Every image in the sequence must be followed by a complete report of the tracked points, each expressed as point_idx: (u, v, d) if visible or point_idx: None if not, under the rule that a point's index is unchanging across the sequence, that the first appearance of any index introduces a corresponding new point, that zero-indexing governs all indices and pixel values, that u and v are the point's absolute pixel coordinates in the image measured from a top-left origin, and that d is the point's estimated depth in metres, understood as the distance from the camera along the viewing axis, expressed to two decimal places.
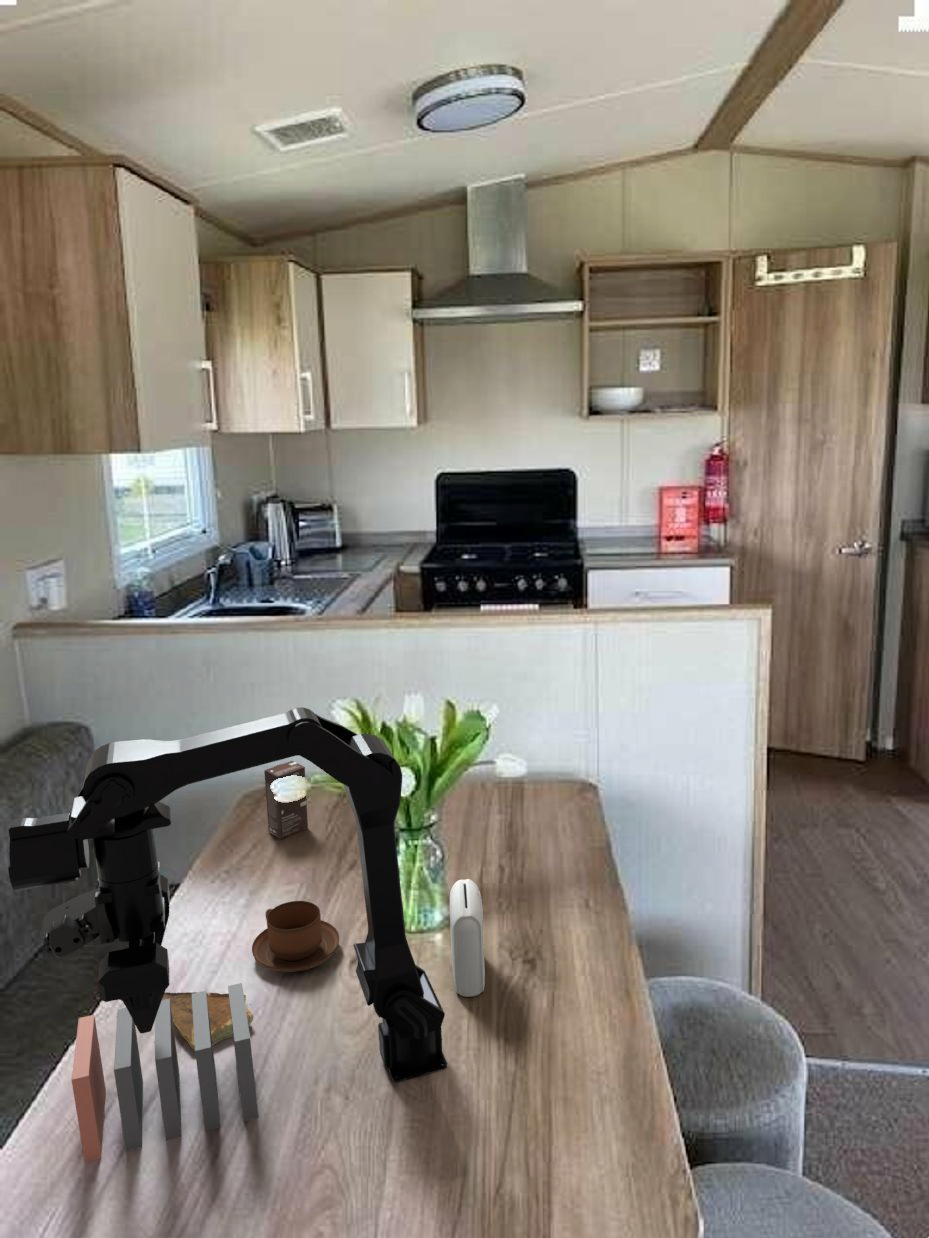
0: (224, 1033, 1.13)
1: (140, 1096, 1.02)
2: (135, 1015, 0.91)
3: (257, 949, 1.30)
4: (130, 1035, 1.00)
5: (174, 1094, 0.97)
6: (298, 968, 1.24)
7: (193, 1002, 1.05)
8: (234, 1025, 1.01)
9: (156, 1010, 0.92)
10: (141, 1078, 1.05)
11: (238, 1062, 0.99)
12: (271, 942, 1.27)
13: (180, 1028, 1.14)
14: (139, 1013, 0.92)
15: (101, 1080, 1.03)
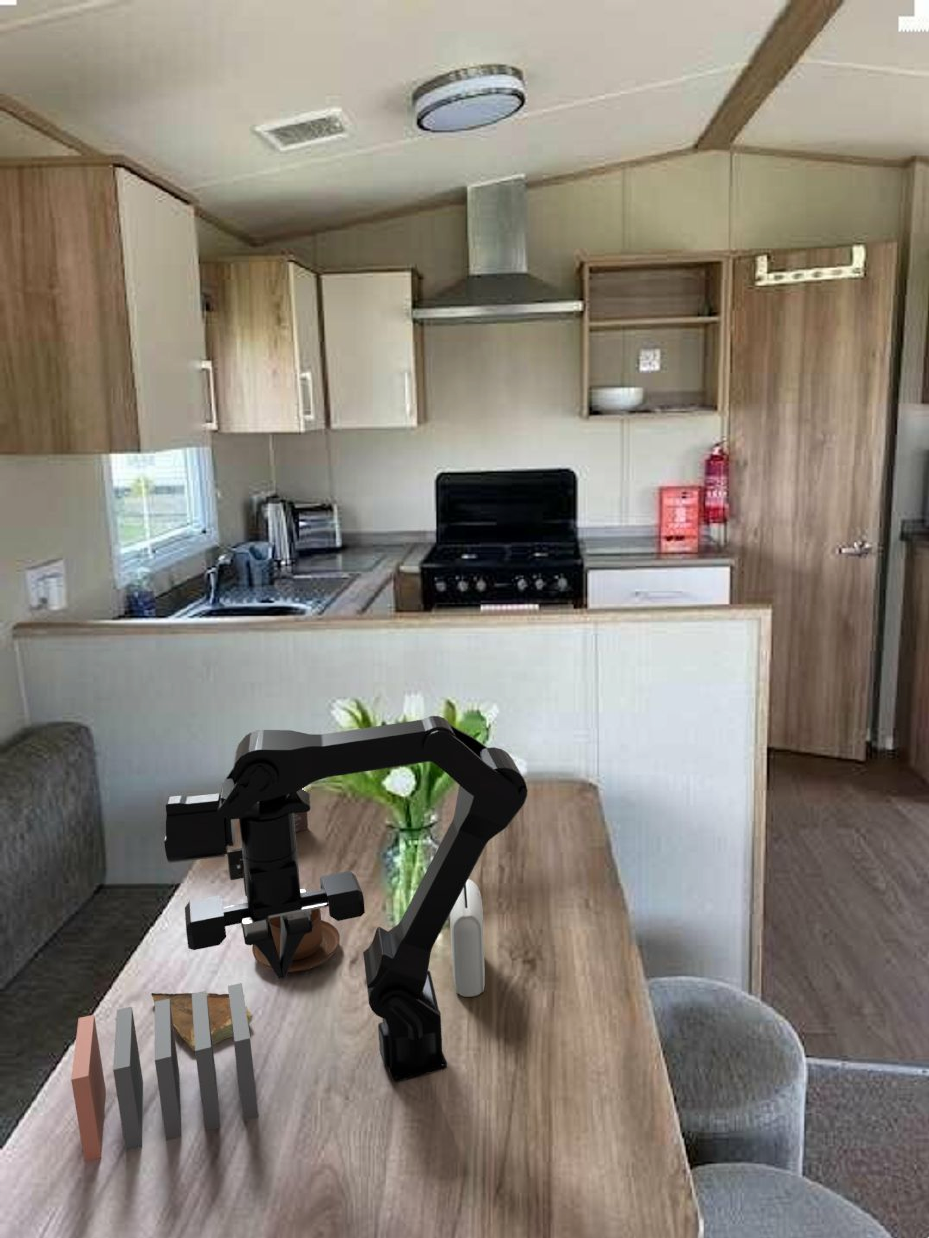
0: (223, 1033, 1.13)
1: (140, 1096, 1.02)
2: None
3: None
4: (129, 1035, 1.00)
5: (174, 1094, 0.97)
6: (298, 968, 1.24)
7: (193, 1002, 1.05)
8: (234, 1025, 1.01)
9: (269, 963, 1.02)
10: (141, 1078, 1.05)
11: (238, 1062, 0.99)
12: None
13: (179, 1029, 1.14)
14: None
15: (101, 1080, 1.03)
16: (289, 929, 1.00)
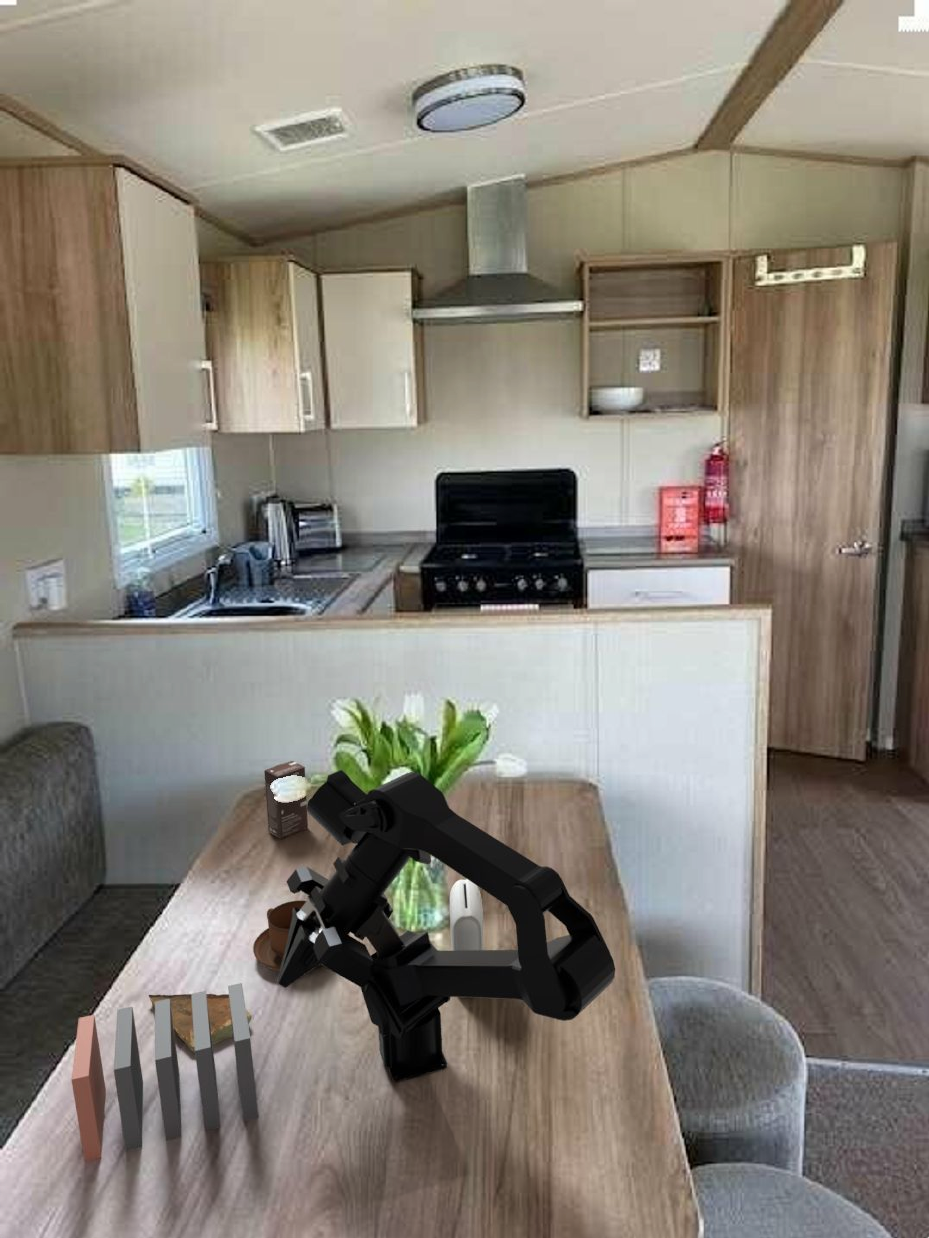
0: (223, 1034, 1.13)
1: (140, 1096, 1.02)
2: None
3: (259, 948, 1.30)
4: (130, 1035, 1.00)
5: (174, 1094, 0.97)
6: None
7: (193, 1002, 1.05)
8: (234, 1025, 1.01)
9: None
10: (141, 1078, 1.05)
11: (238, 1062, 0.99)
12: (272, 942, 1.27)
13: (178, 1030, 1.13)
14: None
15: (101, 1080, 1.03)
16: (306, 929, 1.02)
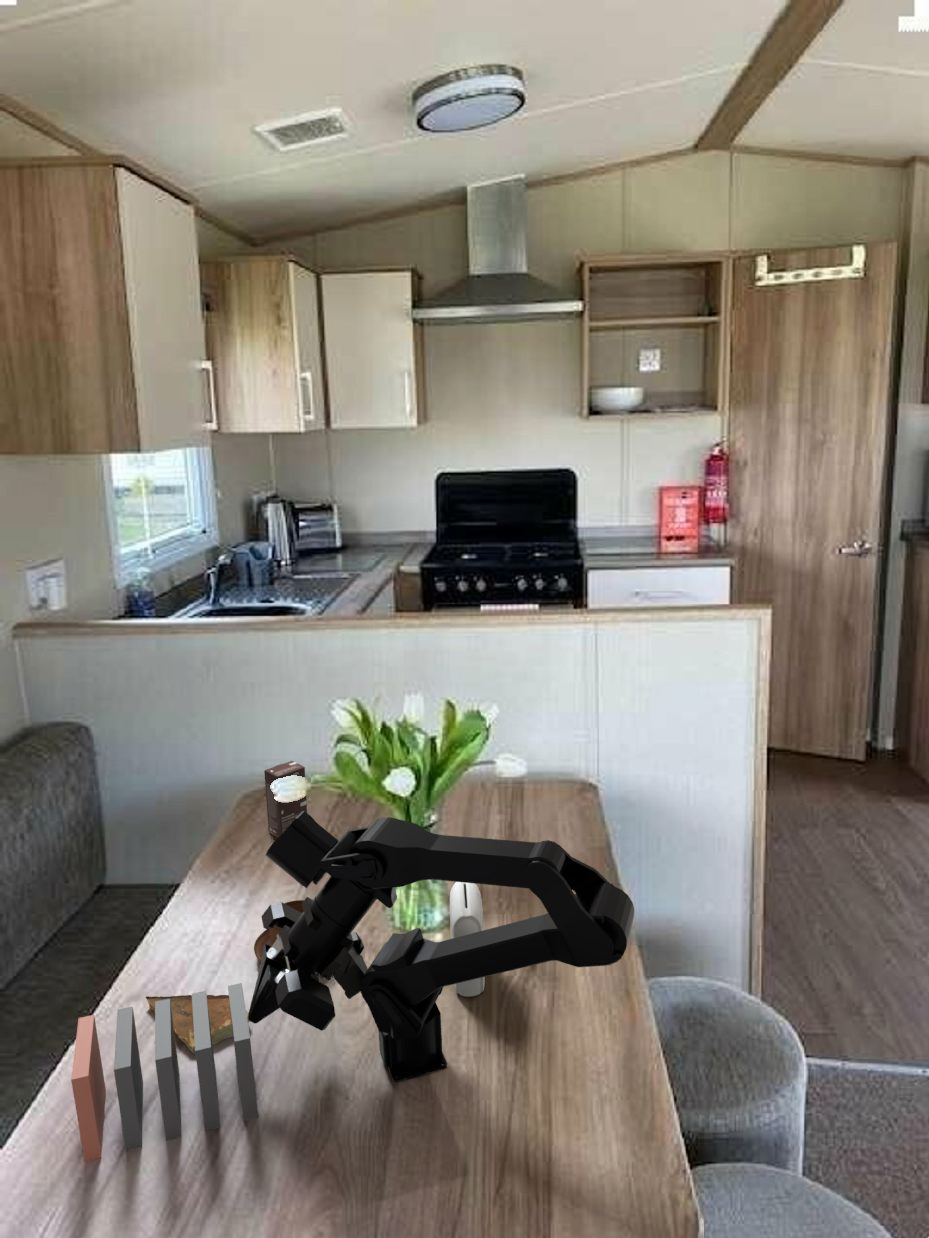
0: (222, 1034, 1.13)
1: (140, 1096, 1.02)
2: None
3: (260, 948, 1.30)
4: (130, 1035, 1.00)
5: (174, 1094, 0.97)
6: None
7: (193, 1002, 1.05)
8: (234, 1025, 1.01)
9: None
10: (141, 1078, 1.05)
11: (238, 1062, 0.99)
12: (273, 941, 1.28)
13: (177, 1031, 1.13)
14: None
15: (101, 1080, 1.03)
16: (274, 969, 1.04)
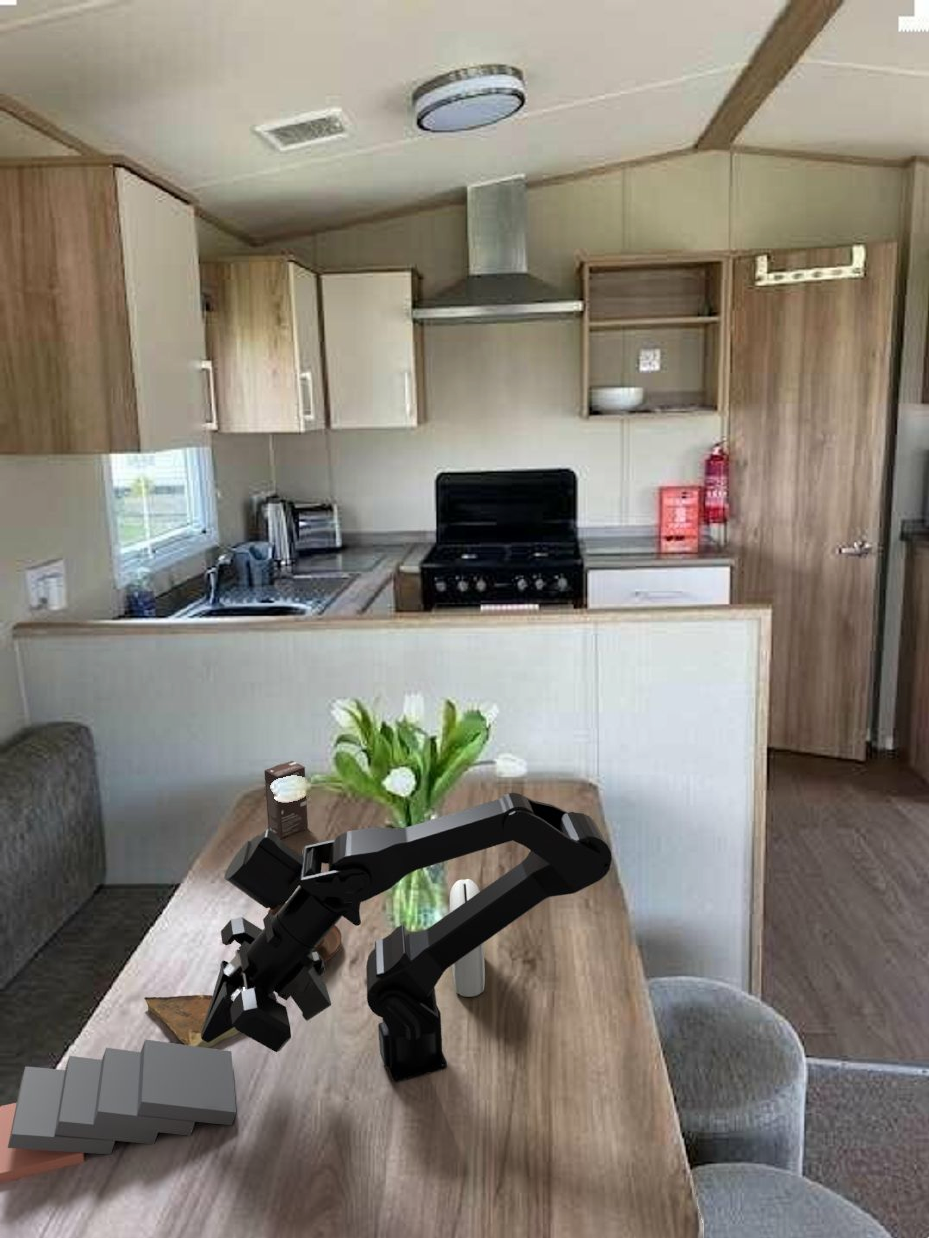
0: (222, 1034, 1.13)
1: None
2: None
3: None
4: (18, 1100, 0.98)
5: (105, 1127, 0.96)
6: None
7: None
8: (138, 1095, 0.99)
9: None
10: None
11: (162, 1116, 0.98)
12: None
13: (176, 1032, 1.13)
14: None
15: None
16: (230, 986, 1.01)
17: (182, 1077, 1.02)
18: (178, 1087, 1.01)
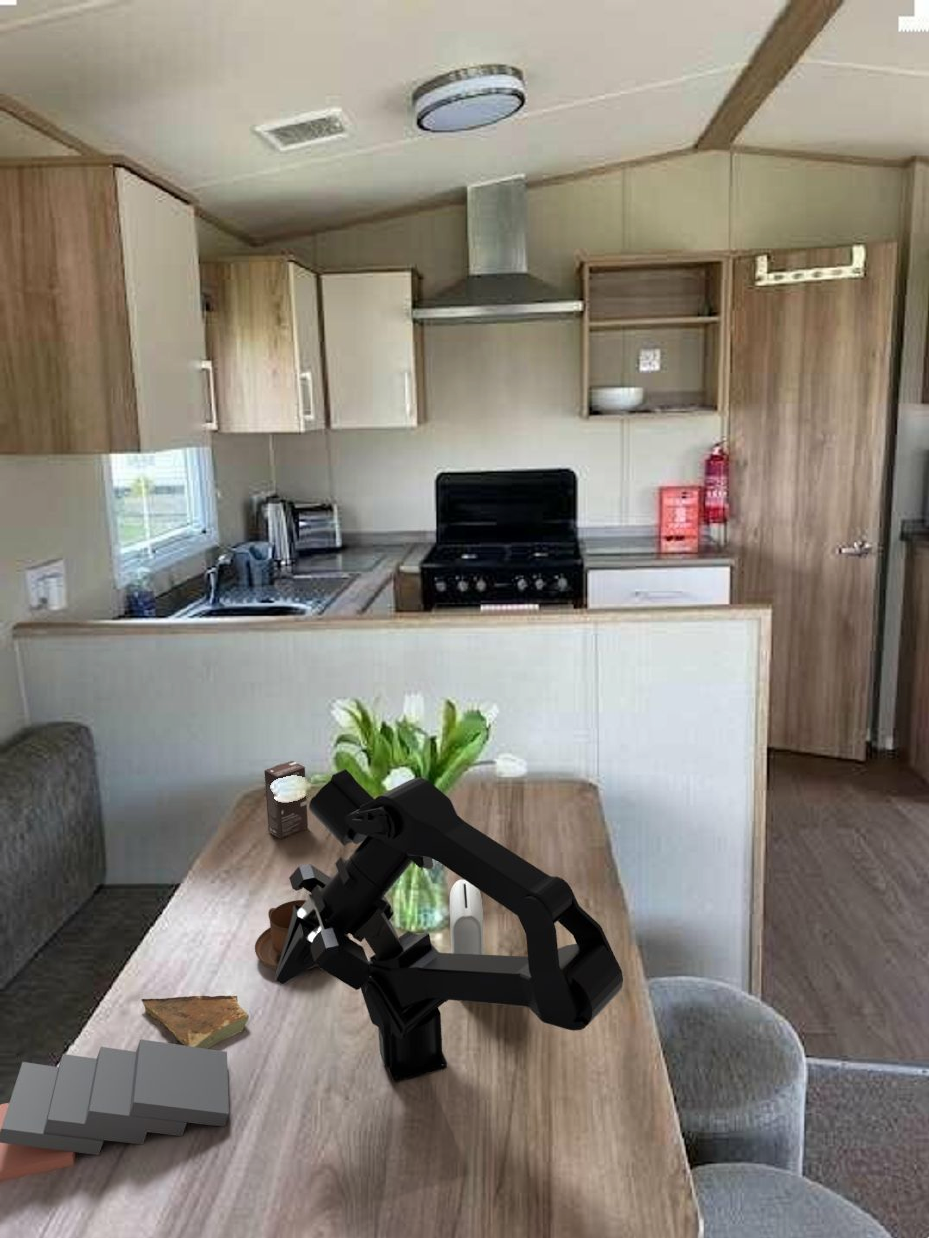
0: (221, 1034, 1.13)
1: None
2: None
3: (260, 948, 1.30)
4: None
5: (94, 1126, 0.96)
6: None
7: (95, 1067, 1.04)
8: (131, 1095, 0.99)
9: None
10: None
11: (155, 1117, 0.98)
12: (274, 941, 1.28)
13: (175, 1032, 1.13)
14: None
15: None
16: (305, 928, 1.02)
17: (176, 1077, 1.02)
18: (171, 1087, 1.01)
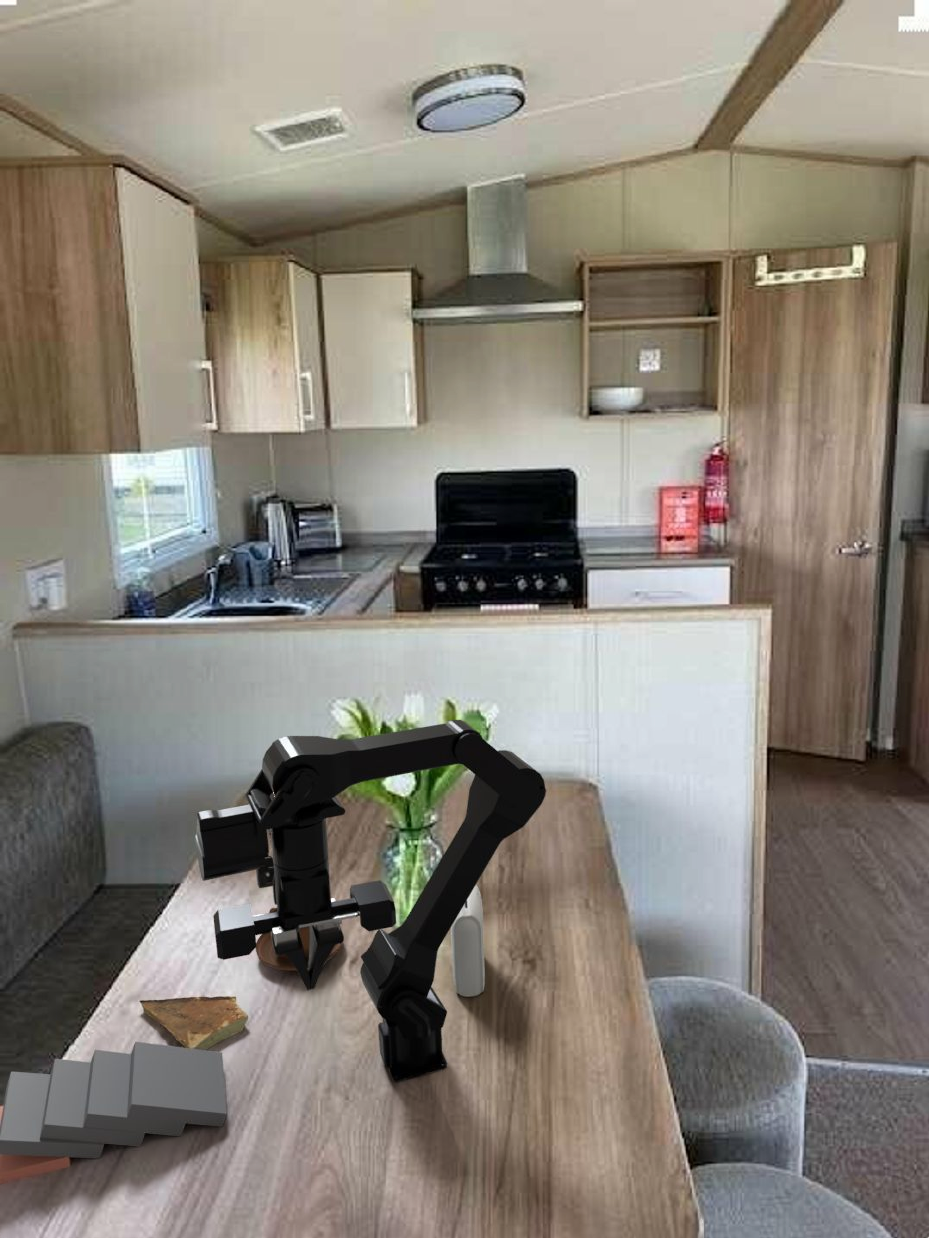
0: (220, 1035, 1.13)
1: None
2: None
3: (261, 948, 1.30)
4: (5, 1105, 0.97)
5: (91, 1129, 0.96)
6: None
7: (90, 1071, 1.03)
8: (128, 1097, 0.99)
9: None
10: None
11: (152, 1118, 0.97)
12: None
13: (175, 1033, 1.13)
14: None
15: None
16: (320, 939, 0.98)
17: (172, 1079, 1.02)
18: (168, 1088, 1.00)
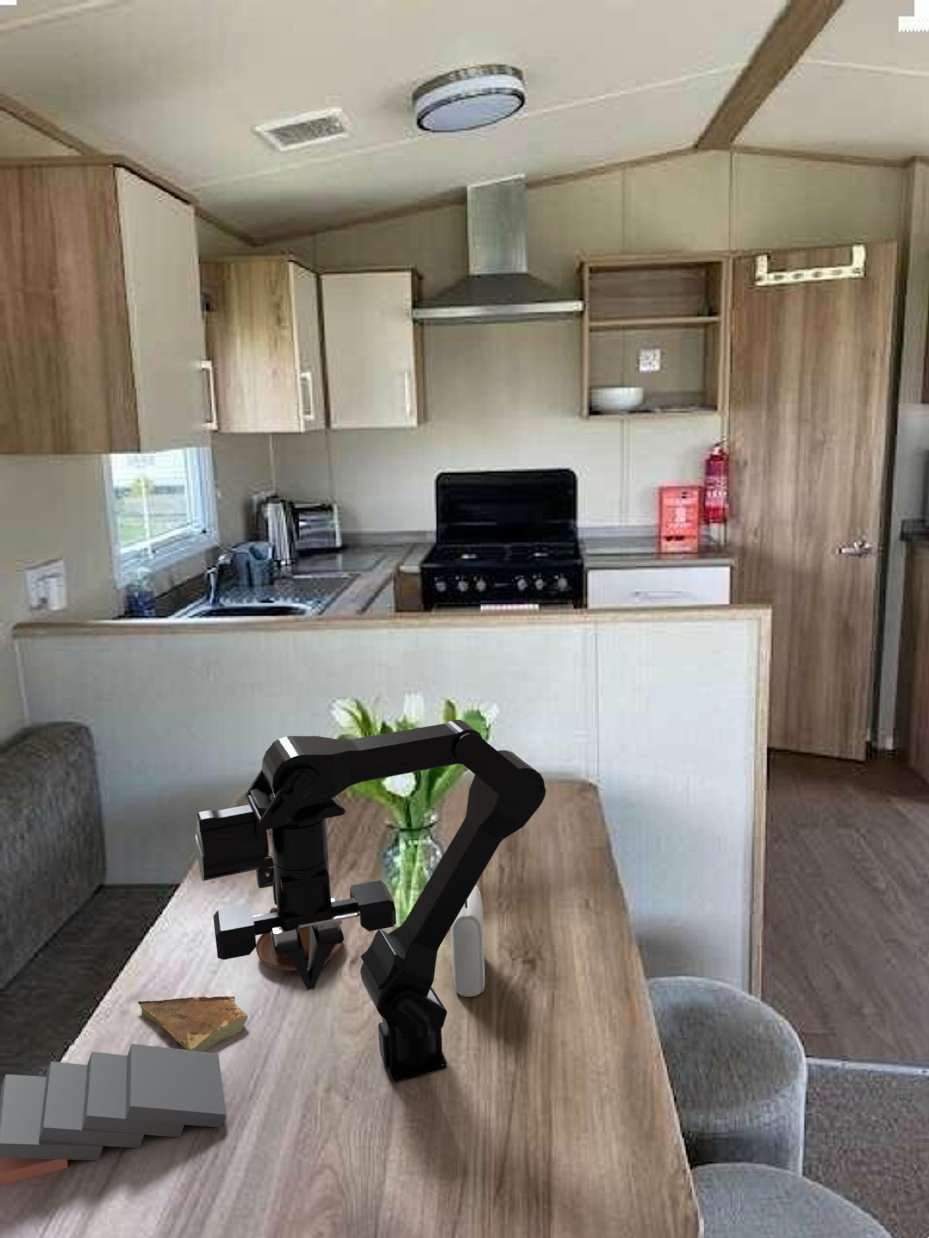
0: (220, 1035, 1.13)
1: None
2: None
3: (262, 948, 1.30)
4: (2, 1108, 0.96)
5: (90, 1132, 0.95)
6: None
7: (87, 1073, 1.03)
8: (126, 1100, 0.99)
9: (299, 974, 0.99)
10: None
11: (151, 1120, 0.97)
12: None
13: (174, 1034, 1.13)
14: None
15: None
16: (320, 939, 0.98)
17: (170, 1080, 1.02)
18: (166, 1090, 1.00)
